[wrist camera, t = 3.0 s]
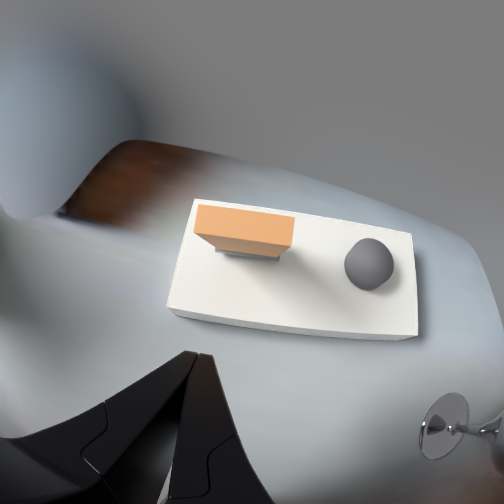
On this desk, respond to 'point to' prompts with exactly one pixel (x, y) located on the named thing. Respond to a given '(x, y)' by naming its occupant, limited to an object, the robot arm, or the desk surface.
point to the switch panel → (298, 282)
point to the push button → (369, 264)
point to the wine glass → (459, 430)
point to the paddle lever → (244, 231)
